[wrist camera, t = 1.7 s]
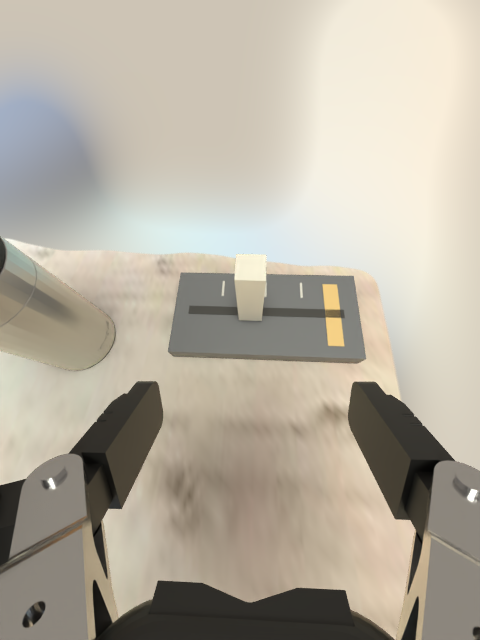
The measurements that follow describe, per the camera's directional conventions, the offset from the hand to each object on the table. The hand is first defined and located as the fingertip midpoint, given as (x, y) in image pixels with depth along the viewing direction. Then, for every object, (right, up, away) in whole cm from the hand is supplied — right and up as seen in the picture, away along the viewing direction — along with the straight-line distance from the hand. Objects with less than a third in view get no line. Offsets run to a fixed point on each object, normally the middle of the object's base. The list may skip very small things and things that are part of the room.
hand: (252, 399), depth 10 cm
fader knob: (+1, +5, +23) cm, 23 cm away
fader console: (+3, +3, +25) cm, 26 cm away
